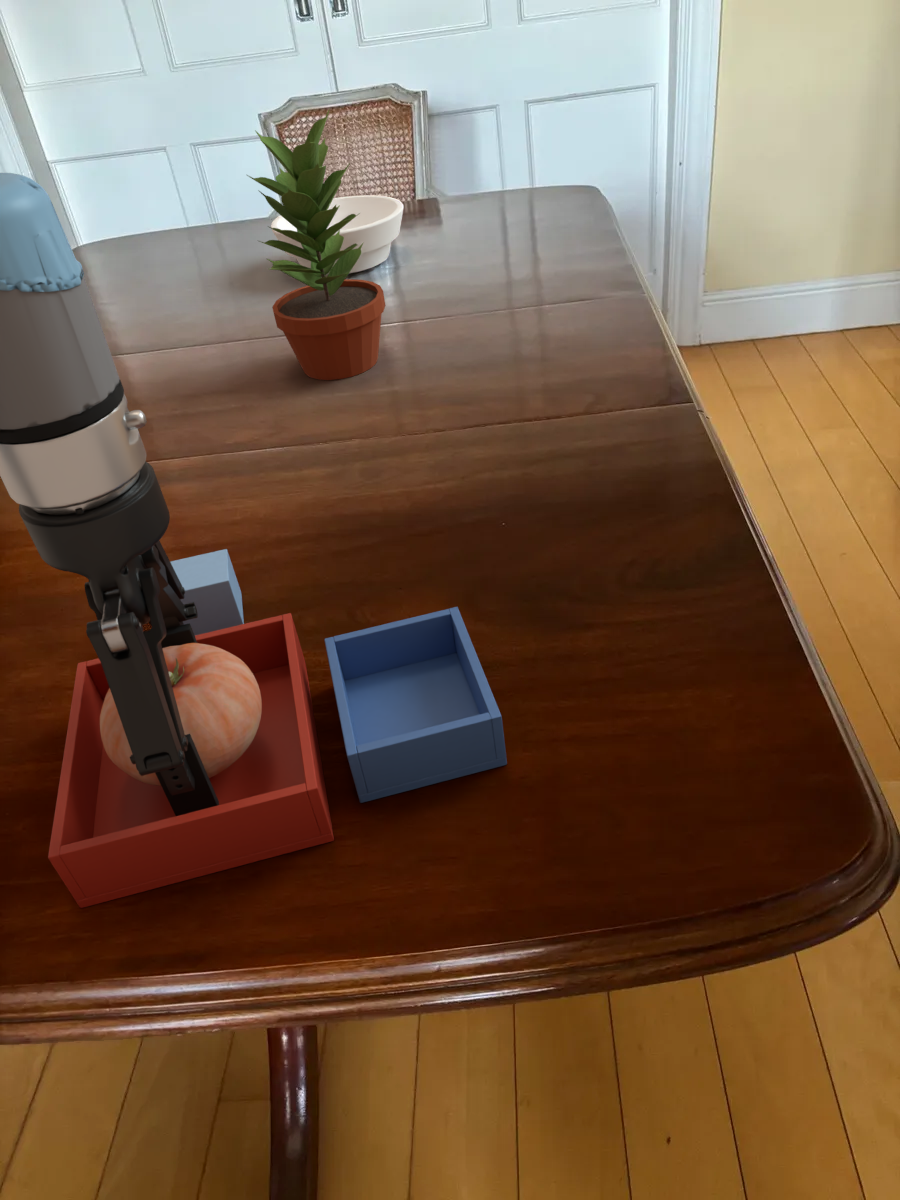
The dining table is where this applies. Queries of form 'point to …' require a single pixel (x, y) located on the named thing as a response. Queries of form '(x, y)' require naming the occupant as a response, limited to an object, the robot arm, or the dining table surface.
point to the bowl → (358, 228)
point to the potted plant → (321, 268)
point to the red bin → (244, 790)
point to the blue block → (210, 591)
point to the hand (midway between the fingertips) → (197, 749)
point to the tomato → (198, 708)
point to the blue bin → (414, 704)
